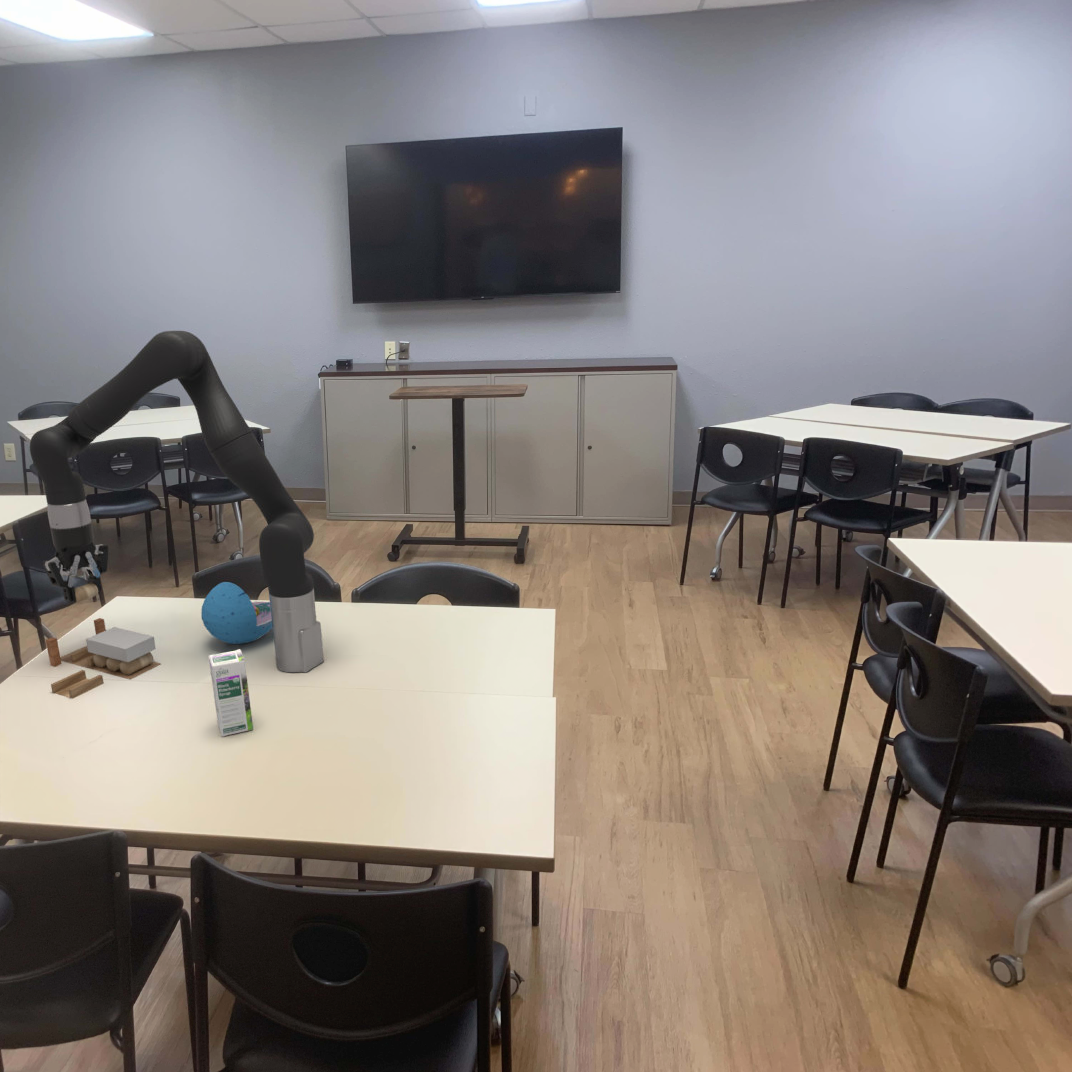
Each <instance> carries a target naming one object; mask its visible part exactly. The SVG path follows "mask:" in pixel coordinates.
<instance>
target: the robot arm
mask: <svg viewBox="0 0 1072 1072" xmlns="http://www.w3.org/2000/svg"><path fill="white" fill-rule="evenodd" d="M173 380H178V382H179V383H180V384H181V386H182V387H183V389H184V391H185V392H186V394H187V395H188V396H189V398H190V400H191V402H192V404H193V406H194V409H195V411H196V414H197V419H198V423H199V426H200V429H201V434H202V438H203V441H204V444H205V445H206V448H207V449H208V451H209V453H210V455H211V456H212V458H213V459H214V462H215V463H216V465H217V467H218V468H219V469H220V470H221V472H222V473H223V475H225V477H226V478H227V479H228V480H229V481H230V482H231V483H232V484H233V485H235V486H236V487H237V488H238V489H240V491H242V492H243V493H244V494H246V495H247V496H248V497H249V498H250V499H251V500H252V502H254V503H255V504H256V506H257V508H258V509H259V510H260V512H261V514H262V515H263V518H264V519H265V522H266V523H267V525H266V526H265V527H264V528H263V529H262V530H261V532H260V535H259V539H258V549H259V557H260V558H259V559H260V563H261V569H262V575H263V580H264V582H265V585H267V589H268V596H269V597H268V598H269V602H270V609H271V619H272V628H271V629H272V636H273V646H274V654H275V655H274V656H275V664H276V668H277V669H278V670H280V671H281V672H287V673H298V672H299V673H300V672H301V673H302V672H303V673H308V672H309V671H310V670H312V669H314V668H315V667H317V666H318V665H320V664H322V663H323V662H324V661H325V660H324V651H323V649H324V648H323V638H322V637H323V636H322V625H321V622H320V621H317V611H316V599H315V598H316V597H315V589H314V578H313V575H311V574H310V573H309V572H307V569H306V568H307V567H306V564H305V563H306V562H305V561H306V560H305V553H306V552H307V551H308V550H309V549H310V548H311V547H312V545H313V542H314V539H315V533H314V528H313V526H312V524H311V523H310V520H308V518H307V516H306V515H305V514H304V512H303V511H302V510H301V509H300V507H299V506H298V504H297V503H296V501H295V500H294V499H293V498H292V496H291V495H290V494H289V492H288V490H287V489H286V488H285V486H284V485H283V482H282V481H281V480H280V477H279V476H278V474H277V472H276V470H275V468H274V467H273V466H272V464H271V462H270V460H269V459H268V458H267V455H266V454H265V452H264V450H263V449H262V446H261V444H260V442H259V441H258V439H257V438H256V436H255V434H254V433H253V431H252V430H251V428H250V426H249V425H248V423H247V421H246V420H245V418H244V417H243V415H242V413H241V412H240V410H239V409H238V406H237V405H236V404H235V402H234V401H233V399H232V397H231V396H230V394H229V393H228V391H227V390H226V388H225V386H224V384H223V382H222V380H221V377H220V376H219V374H218V372H217V369H216V367H215V365H214V363H213V360H212V358H211V356H210V354H209V352H208V350H207V347H206V346H205V344H204V343H203V341H202V340H201V339H200V338H199V337H198V336H196V335H195V334H193V333H192V332H189V331H184V330H165V331H162V332H159V333H156V335H154V336H153V337H152V338H151V339H150V340H149V341H148V342H147V343H146V344H145V345H144V347H142V348H141V350H139V352H138V353H137V354H136V355H135V357H134V358H132V359H131V361H130V362H128V364H127V365H126V366H125V367H123V369H122V370H120V371H119V372H118V373H117V374H116V375H114V377H112V378H111V379H110V380H109V381H107V382H106V383H104V384H103V385H102V386H100V387H99V388H98V389H96V390H95V391H93V393H91V394H90V395H88V396H87V397H85V398H84V399H83V400H81V401H80V402H78V403H77V404H76V405H75V406H74V407H73V408H71V410H69V412H68V415H67V416H66V417H65V418H64V419H61V421H59V422H58V423H56V424H55V425H52V426H50V427H46V428H43V429H40V430H38V431H36V432H35V433H33V435H32V436H31V439H30V443H29V453H30V456H31V457H30V458H31V459H32V462H33V465H34V467H35V469H36V471H37V473H38V475H39V478H40V479H41V481H42V483H43V486H44V492H45V493H44V494H45V498H46V499H45V500H46V503H47V518H48V523H49V529H50V533H51V538H52V539H51V540H52V544H53V546H54V548H55V554H54V557H53V558H51V559H49V560H43V561H42V563H41V564H42V566H43V568H44V570H45V573H46V575H47V577H48V578H49V581H50V583H51V585H52V586H53V587H59V588H62V591H63V593H62V594H63V598H64V601H66V602H67V603H69V604H73V603H75V604H77V603H76V602H77V601H76V595H75V588H76V587H75V586H74V582H75V577H76V576H77V574H78V570H80V569H84V571H85V572H86V574H87V582H88V583H93V584H95V585H96V586H97V588H98V594H97V595H100V594H101V591H102V590H101V589H102V586H101V582H100V580H101V579H100V577H101V575H102V574H103V573H106V572H107V571H108V561H109V560H108V559H109V557H108V556H109V546H108V545H106V544H102V543H96V544H95V542H94V540H95V537H94V536H95V535H94V531H93V524H92V518H91V512H90V508H89V506H88V503H87V497H86V492H85V487H84V486H85V485H84V482H83V478H82V476H81V475H80V473H79V472H76V471H73V470H72V468H71V464H70V462H69V459H71V458H74V457H75V456H77V455H79V454H80V453H82V452H83V451H84V450H85V449H86V448H88V446H89V445H91V444H92V443H93V442H94V440H95V439H96V438H97V437H99V436H100V435H103V434H104V433H106V432H107V430H109V429H111V428H112V427H113V426H114V425H116V424H118V423H119V422H120V421H121V420H122V419H123V418H125V417H126V415H128V413H130V412H131V410H132V409H133V408H134V407H135V406H136V404H137V403H138V402H140V400H141V399H142V398H144V397H145V396H146V395H148V394H149V393H151V392H152V391H153V390H155V389H156V388H158V387H160V386H163V385H164V384H166V383H168V382H171V381H173ZM93 557H94V558H93ZM59 564H60V566H59ZM59 569H60V570H59ZM88 583H87V584H88Z"/></svg>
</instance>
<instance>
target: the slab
mask: <svg viewBox="0 0 1072 1072" xmlns="http://www.w3.org/2000/svg"><path fill="white" fill-rule="evenodd" d="M85 642H86V643H85V644H86V646H87V648H88V652H90V653H94V654H98V655H102V656H106V657H109V658H113V659H117V660H121V661H125V662H130V661H132V660H134V659H136V658H138V657H140V656H142V655H144V654H147V653H149V652H150V653H151V652H153V651H155V650H156V643H155V637H154V636H153V635H149V634H145V633H142V632H141V633H140V632H136V631H133V630H128V629H125V628H120V627H117V626H114V627H112V628H109V629H106V631H104V632H101V633H99V634H97V635H96V634H95V635H92V636H89V637H88V638H85Z"/></svg>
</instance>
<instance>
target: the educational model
mask: <svg viewBox="0 0 1072 1072" xmlns="http://www.w3.org/2000/svg"><path fill="white" fill-rule="evenodd" d="M201 620H202V623H203V626H204V627H205V629H206V630H207V631H208V633H209V634H210V635H211V636H212V637H214V638H215V639H216V640H219V641H221V642H224V643H227V644H231V645H233V644H234V645H237V644H238V645H240V644H241V645H242V644H246V643H247V644H248V643H252V642H254V641H256V640H258V639H260V638H261V637H263V636H264V635H266V634H267V633H268V632H270V630H272V629H273V628H272V619H271V609H270V601H256V600H255V601H253V602H252V600H251V598H250V597H249V595H248V594H247V593H245V591H244V590H243V589H242V588H241V587H240V586H238V585H237V584H235V583H232V582H229V581H223V582H222V581H221V582H220V583H218V584H217V585H216V586H214V587H213V588H212V589H211V590H210V591H209V592H208V594H207V595H206V597H205V599H204V601H203V603H202V606H201Z"/></svg>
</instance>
